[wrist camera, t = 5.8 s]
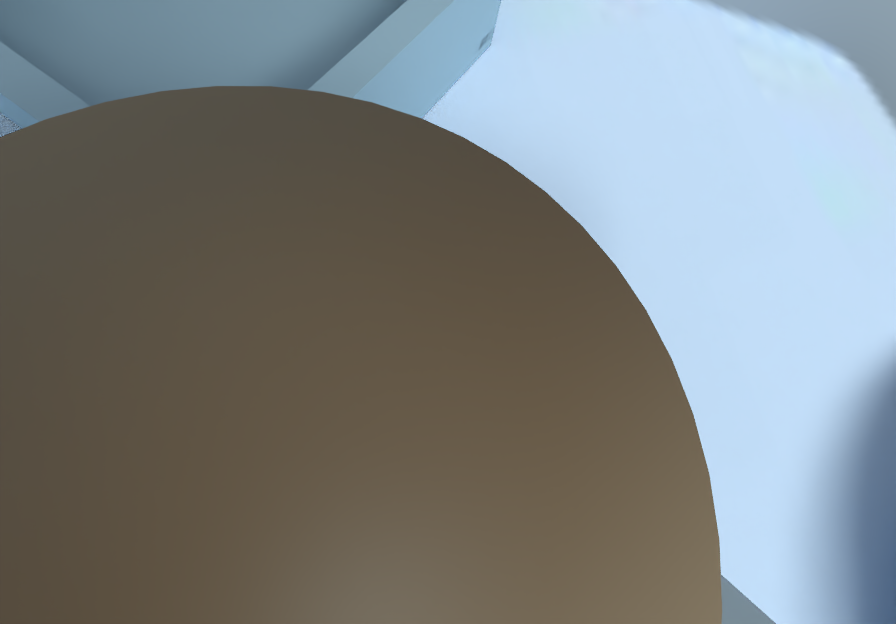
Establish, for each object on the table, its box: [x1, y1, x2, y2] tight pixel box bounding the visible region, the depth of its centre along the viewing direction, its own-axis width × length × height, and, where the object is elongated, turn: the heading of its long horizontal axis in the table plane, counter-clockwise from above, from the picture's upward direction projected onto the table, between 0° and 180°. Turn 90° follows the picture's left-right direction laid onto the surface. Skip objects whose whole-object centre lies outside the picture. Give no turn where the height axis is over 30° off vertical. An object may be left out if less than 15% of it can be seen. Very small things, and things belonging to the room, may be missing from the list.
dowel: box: [0, 86, 722, 624], centre depth 8 cm, size 4×4×14 cm
